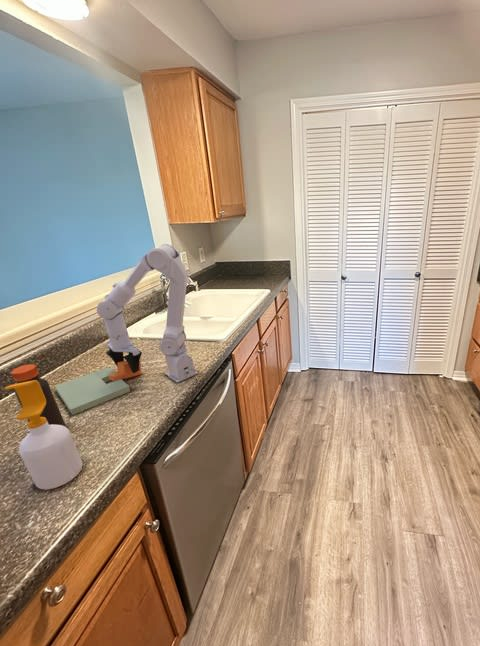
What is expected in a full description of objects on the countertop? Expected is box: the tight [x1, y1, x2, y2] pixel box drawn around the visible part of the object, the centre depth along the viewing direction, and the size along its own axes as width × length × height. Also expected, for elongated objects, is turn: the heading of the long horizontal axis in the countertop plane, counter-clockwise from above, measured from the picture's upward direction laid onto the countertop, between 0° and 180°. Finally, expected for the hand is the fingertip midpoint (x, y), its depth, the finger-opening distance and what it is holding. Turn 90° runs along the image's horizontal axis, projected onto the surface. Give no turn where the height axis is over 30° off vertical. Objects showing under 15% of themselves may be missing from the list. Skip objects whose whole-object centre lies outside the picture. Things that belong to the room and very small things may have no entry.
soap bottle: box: [4, 380, 84, 490], centre depth 69 cm, size 9×9×25 cm
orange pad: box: [109, 360, 142, 382], centre depth 112 cm, size 4×10×5 cm, turn 149°
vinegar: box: [10, 363, 67, 428], centre depth 84 cm, size 7×7×20 cm
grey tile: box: [54, 367, 131, 416], centre depth 106 cm, size 20×16×2 cm
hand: (128, 369), depth 113 cm, fingers open, 7 cm apart
